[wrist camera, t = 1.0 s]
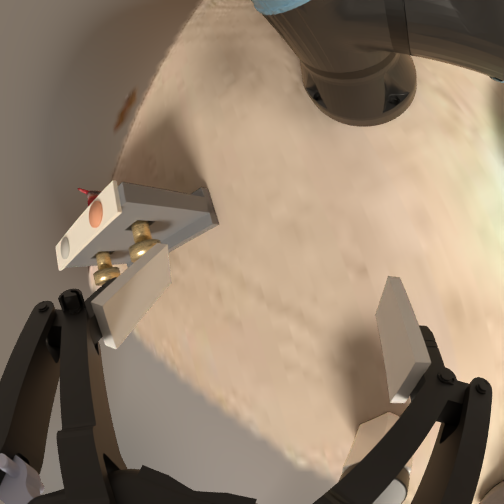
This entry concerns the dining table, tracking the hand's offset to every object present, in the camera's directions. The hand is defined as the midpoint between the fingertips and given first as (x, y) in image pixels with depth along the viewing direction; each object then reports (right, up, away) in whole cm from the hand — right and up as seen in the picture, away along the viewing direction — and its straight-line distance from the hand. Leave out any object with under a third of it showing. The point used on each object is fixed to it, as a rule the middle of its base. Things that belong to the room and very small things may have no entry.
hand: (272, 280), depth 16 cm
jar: (+17, -23, +13) cm, 32 cm away
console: (-16, +4, +31) cm, 35 cm away
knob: (-24, +1, +26) cm, 35 cm away
